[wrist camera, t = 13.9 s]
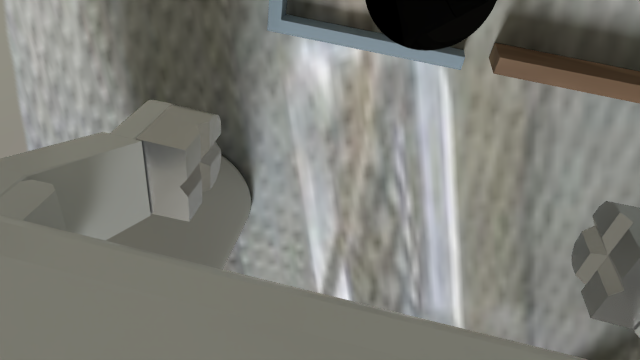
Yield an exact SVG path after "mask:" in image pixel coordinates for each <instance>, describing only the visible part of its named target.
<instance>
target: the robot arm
mask: <svg viewBox="0 0 640 360" xmlns="http://www.w3.org/2000/svg"><path fill="white" fill-rule="evenodd" d="M220 134H221V119H220V117H219V116H218V115H217V114H213V113H208V112H204V111H200V110H196V109H192V108H188V107H184V106H179V105H174V104H172V103H167V102H162V101H157V100H148V101H147V102H146V103H144V104H143V105H142V106H141V107H140V108H139V109H138V110H136V111H135V112H134V113H133V114H132V115H131V116H129V117H128V118H127V119H126V120H125V121H124V122H123V123H121V124H120V125H119V126H118V127H117V128H116V129H114V130H113V131H112V132H111V133H110V134H109V133H104V132H101V133H97V134H93V135H89V136H86V137H82V138H78V139H74V140H70V141H66V142H63V143H59V144H55V145H51V146H47V147H43V148H39V149H36V150H32V151H28V152H24V153H20V154H17V155H13V156H9V157H5V158H1V159H0V360H588V359H584V358H580V357H576V356H572V355H567V354H563V353H559V352H555V351H551V350H547V349H543V348H539V347H535V346H531V345H527V344H523V343H519V342H515V341H511V340H507V339H502V338H498V337H494V336H490V335H486V334H482V333H478V332H474V331H470V330H466V329H462V328H458V327H454V326H450V325H446V324H442V323H437V322H433V321H429V320H425V319H421V318H417V317H413V316H409V315H405V314H401V313H397V312H393V311H389V310H385V309H381V308H377V307H373V306H369V305H365V304H361V303H357V302H353V301H349V300H345V299H341V298H337V297H333V296H328V295H324V294H320V293H316V292H312V291H308V290H304V289H300V288H296V287H292V286H288V285H284V284H280V283H276V282H272V281H267V280H263V279H259V278H255V277H251V276H247V275H243V274H239V273H235V272H231V271H227V270H223V269H219V268H215V267H211V266H206V265H202V264H198V263H194V262H190V261H186V260H182V259H178V258H174V257H170V256H166V255H162V254H158V253H154V252H149V251H145V250H141V249H137V248H133V247H129V246H125V245H121V244H117V243H113V242H109V241H105V240H107V239H109V238H111V237H113V236H115V235H116V234H118V233H120V232H122V231H124V230H125V229H127V228H129V227H131V226H133V225H135V224H136V223H138V222H140V221H142V220H144V219H145V218H147V217H149V216H151V214H155V215H160V216H165V217H169V218H174V219H179V220H183V221H188V222H190V220H191V219H192V217H193V216H194V214H195V213H196V211H197V210H198V208H199V207H200V205H201V203H202V193H204V192H206V191H208V190H211V188H212V186H213V185H214V183H215V181H216V179H217V176H218V173H219V170H220V164H221V149H220V148H219V146H218V145H217V143H216V142H215V141H216V140H217V138H218V137H219V136H220ZM593 220H594V224H595V226H593V227H591V228H589V229H586V230H584V231H582V232H581V234H580V236H579V237H578V239H577V240H576V242H575V244H574V248H573V252H572V266H573V269H574V272H575V275H576V276H577V277H578V278H579V279H580V280H581V281H582V282H583V283H584V284H585V287H584V288H583V290H582V291H581V292H582V295H583V298H584V301H585V304H586V306H587V309H588V312H589V315H590V318H593V319H597V320H600V321H604V322H608V323H612V324H615V325H619V326H623V327H627V328H630V329H634V330H635V331H634V332H635V333H636V334H637V335H638V336H639V337H640V208H639V207H634V206H629V205H624V204H619V203H614V202H608V201H606V202H604V203H603V204H602V205H600V206H599V207H598V209H597V210H596V212H595V213H594V214H593Z"/></svg>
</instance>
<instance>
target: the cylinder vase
mask: <svg viewBox="0 0 640 360" xmlns="http://www.w3.org/2000/svg"><path fill="white" fill-rule="evenodd" d="M250 210H251V196H250V192H249V189H248V186H247V184H246V182H245V180H244V178H243V176H242V175H241V174H240V172H239V171H238V170H237V168H236V167H235V166H234V165H233V164H232V163H231V162H230V161H228V160H227V159H226V158H225V157H223V156H222V155H221V164H220V170H219V173H218V176H217V179H216V181H215V183H214V185H213V186H212V188H211V190H208V191H206V192H204V193H202V203H201V205H200V207H199V208H198V210H197V211H196V213H195V214H194V216H193V217H192V219H191V220H190V222H188V221H183V220H179V219H174V218H169V217H165V216H160V215H155V214H151V216H149V217H147V218H145V219H144V220H142V221H140V222H138V223H136V224H135V225H133V226H131V227H129V228H127V229H125V230H124V231H122V232H120V233H118V234H116V235H115V236H113V237H111V238H109V239H107V240H105V241H109V242H113V243H117V244H121V245H125V246H129V247H133V248H137V249H141V250H145V251H149V252H154V253H158V254H162V255H166V256H170V257H174V258H178V259H182V260H186V261H190V262H194V263H198V264H202V265H206V266H211V267H215V268H219V269H223V268H224V266H225V264H226V262H227V260H228V258H229V256H230V254H231V252H232V250H233V248H234V246H235V244H236V242H237V240H238V238H239V236H240V234H241V232H242V229H243V227H244V225H245V223H246V221H247V219H248V217H249V214H250Z"/></svg>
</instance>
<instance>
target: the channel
mask: <svg viewBox="0 0 640 360" xmlns="http://www.w3.org/2000/svg"><path fill="white" fill-rule="evenodd" d="M489 59H490V63H491V66H492V70H493V73H494V74H499V75H504V76H508V77H513V78H518V79H523V80H528V81H533V82H538V83H543V84H548V85H552V86H557V87H562V88H567V89H572V90H577V91H582V92H587V93H592V94H597V95H601V96H606V97H611V98H616V99H621V100H626V101H631V102H636V103H640V71H635V70H630V69H625V68H620V67H615V66H610V65H605V64H600V63H595V62H590V61H585V60H580V59H575V58H570V57H565V56H560V55H555V54H550V53H545V52H540V51H535V50H529V49H524V48H519V47H514V46H509V45H504V44H499V43H495V44H494V46H493V49H492V51H491V54H490V57H489Z"/></svg>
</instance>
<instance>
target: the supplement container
mask: <svg viewBox="0 0 640 360" xmlns="http://www.w3.org/2000/svg"><path fill="white" fill-rule="evenodd" d="M496 1H497V0H366V5H367V8H368V11H369V13H370V16H371V18H372V19H373V21H374V23H375V24H376V26H377V27H378V28H379V29H380V31H381V32H382V33H383V34H384V35H385V36H387V37H388V38H389V39H390V40H392V41H394V42H395V43H397V44H399V45H401V46H404V47H406V48H410V49H414V50H423V51H429V50H439V49H443V48H446V47H449V46H452V45H454V44H457V43H459V42H461V41H462V40H464V39H466V38H467V37H468V36H470V35H471V34H472V33H474V32H475V31H476V30H477V29H478V28H479V27H480V26H481V25H482V24H483V22H484V21H485V20H486V19H487V17H488V16H489V14H490V13H491V11H492V9H493V7H494V5H495V3H496Z"/></svg>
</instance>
